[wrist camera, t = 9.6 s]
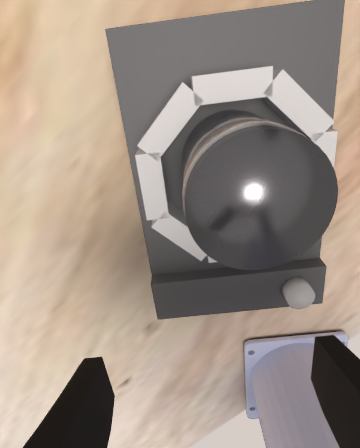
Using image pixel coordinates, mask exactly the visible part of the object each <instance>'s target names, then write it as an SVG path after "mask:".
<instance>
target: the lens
mask: <svg viewBox="0 0 360 448" xmlns="http://www.w3.org/2000/svg"><path fill="white" fill-rule="evenodd" d="M182 174H183V191H182V195H183V210H184V215H185V218H186V222H187V226H188V229H189V231H190V234H191V236H192V238H193V239H194V241H195V242H196V244H197V245H198V247H199V248H200V249H201V250H202V251H203V252H204V253H205V254H207V255H208V256H209V257H210V258H212V259H213V260H215V261H217V262H218V263H221V264H223V265H225V266H228V267H232V268H235V269H241V270H263V269H270V268H273V267H277V266H280V265H283V264H285V263H288V262H290V261H292V260H294V259H296V258H297V257H299V256H300V255H302V254H303V253H305V252H306V251H307V250H308V249H310V248H311V247H312V246H313V245H314V244H315V243H316V242H317V241H318V240H319V238H320V237H321V236H322V235H323V233H324V232H325V230H326V229H327V227H328V226H329V224H330V221H331V219H332V217H333V214H334V211H335V208H336V203H337V196H338V186H337V178H336V174H335V171H334V168H333V166H332V164H331V162H330V160H329V158H328V157H327V155H326V154H325V153H324V152H323V150H322V149H321V148H320V147H319V146H318V145H316V144H315V143H314V142H313V141H311V140H310V139H308V138H307V137H306V136H305V135H303V134H301V133H300V132H298V131H296V130H294V129H292V128H289V127H287V126H284V125H282V124H279V123H275V122H271V121H269V120H267V119H264V118H262V117H260V116H257V115H255V114H253V113H250V112H248V111H243V110H236V109H233V110H224V111H220V112H217V113H214V114H212V115H210V116H208V117H207V118H205V119H204V120H202V121H201V122H200V123H199V124H198V125H197V126H196V127H195V128H194V129H193V130H192V132H191V133H190V135H189V136H188V138H187V140H186V142H185V145H184V148H183V153H182Z"/></svg>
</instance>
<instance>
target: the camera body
mask: <svg viewBox="0 0 360 448" xmlns="http://www.w3.org/2000/svg"><path fill="white" fill-rule="evenodd" d="M344 3H345V0H312V1H305V2H298V3H290V4H283V5H276V6H269V7H261V8H254V9H247V10H240V11H232V12H225V13H218V14H211V15H203V16H196V17H189V18H182V19H174V20H167V21H160V22H153V23H145V24H138V25H131V26H124V27H116V28H109V29H105V31H106V36H107V41H108V47H109V52H110V57H111V62H112V68H113V73H114V78H115V83H116V89H117V94H118V99H119V104H120V110H121V115H122V120H123V125H124V131H125V136H126V141H127V146H128V152H129V157H130V162H131V168H132V173H133V178H134V183H135V189H136V194H137V199H138V204H139V210H140V215H141V220H142V225H143V231H144V236H145V241H146V246H147V252H148V257H149V262H150V267H151V273H152V280H151V287H152V292H153V298H154V303H155V308H156V313H157V318H158V319H168V318H178V317H188V316H198V315H208V314H218V313H228V312H239V311H249V310H259V309H269V308H279V307H289V306H290V307H292V308H295V309H303V308H306V307H308V306H310V305H311V304H319V303H322V301H323V292H324V283H325V274H326V265H325V264H324V263H323V261H322V260H321V259H320V248H321V238H322V236H321V237H320V238H319V240H318V241H317V242H316V243H315V244H314V245H313V246H312V247H311V248H310V249H308V250H307V251H306V252H305V253H303V254H302V255H300V256H299V257H297V258H296V259H294V260H292V261H290V262H288V263H285V264H283V265H280V266H277V267H273V268H270V269H263V270H241V269H235V268H232V267H228V266H225V265H223V264H221V263H218V262H217V261H215V260H213V259H212V258H210V257H209V256H208V255H207V254H205V253H204V252H203V251H202V250H201V249H200V248H199V247H198V245H197V244H196V242H195V241H194V239H193V238H192V236H191V234H190V231H189V229H188V226H187V222H186V218H185V215H184V210H183V195H182V191H183V174H182V153H183V148H184V145H185V142H186V140H187V138H188V136H189V135H190V133H191V132H192V130H193V129H194V128H195V127H196V126H197V125H198V124H199V123H200V122H201V121H202V120H204V119H205V118H207V117H208V116H210V115H212V114H214V113H217V112H220V111H224V110H233V109H236V110H243V111H248V112H250V113H253V114H255V115H257V116H260V117H262V118H264V119H267V120H269V121H271V122H275V123H279V124H282V125H284V126H287V127H289V128H292V129H294V130H296V131H298V132H300V133H301V134H303V135H305V136H306V137H307V138H308V139H310V140H311V141H313V142H314V143H315V144H316V145H318V146H319V147H320V148H321V149H322V150H323V152H324V153H325V154H326V155H327V157H328V158H329V160H330V162H331V164H332V166H333V168H334V161H335V152H336V143H337V133H338V131H337V130H334V129H332V126H333V123H334V122H335V121H334V120H333V115H334V105H335V95H336V85H337V75H338V64H339V54H340V44H341V34H342V23H343V13H344Z"/></svg>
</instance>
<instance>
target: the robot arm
mask: <svg viewBox="0 0 360 448" xmlns="http://www.w3.org/2000/svg"><path fill="white" fill-rule="evenodd" d="M347 344H348V336H347V334H346V333H345V332H342V331H339V332H329V333H318V334H308V335H297V336H287V337H276V338H266V339H255V340H248V341H246V342H245V343H244V360H245V389H246V413H247V417H248V418H250V419H256V418H259V420H260V424H261V428H262V433H263V437H264V441H265V445H266V448H360V359H359V358H358V357H356V356H355V354H353V353H352V352H351V351H350V350H349V349H348V348H347ZM251 350H252V351H251ZM114 397H115V396H114V393H113V390H112V386H111V383H110V380H109V377H108V374H107V371H106V368H105V365H104V362H103V359H102V357H96V358H85V359H84V360H83V361H82V362H81V364H80V365H79V367H78V368H77V370H76V372H75V373H74V375H73V376H72V378H71V379H70V381H69V382H68V384H67V385H66V387H65V388H64V390H63V391H62V393H61V394H60V396H59V397H58V399H57V400H56V402H55V403H54V405H53V406H52V408H51V409H50V411H49V412H48V413H47V415H46V416H45V418H44V419H43V421H42V422H41V423H40V425H39V426H38V428H37V429H36V430H35V432H34V433H33V434H32V436H31V437H30V438H29V440H28V441H27V442H26V444H25V445H24V446H23V448H107V446H108V441H109V436H110V431H111V424H112V416H113V407H114Z"/></svg>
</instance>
